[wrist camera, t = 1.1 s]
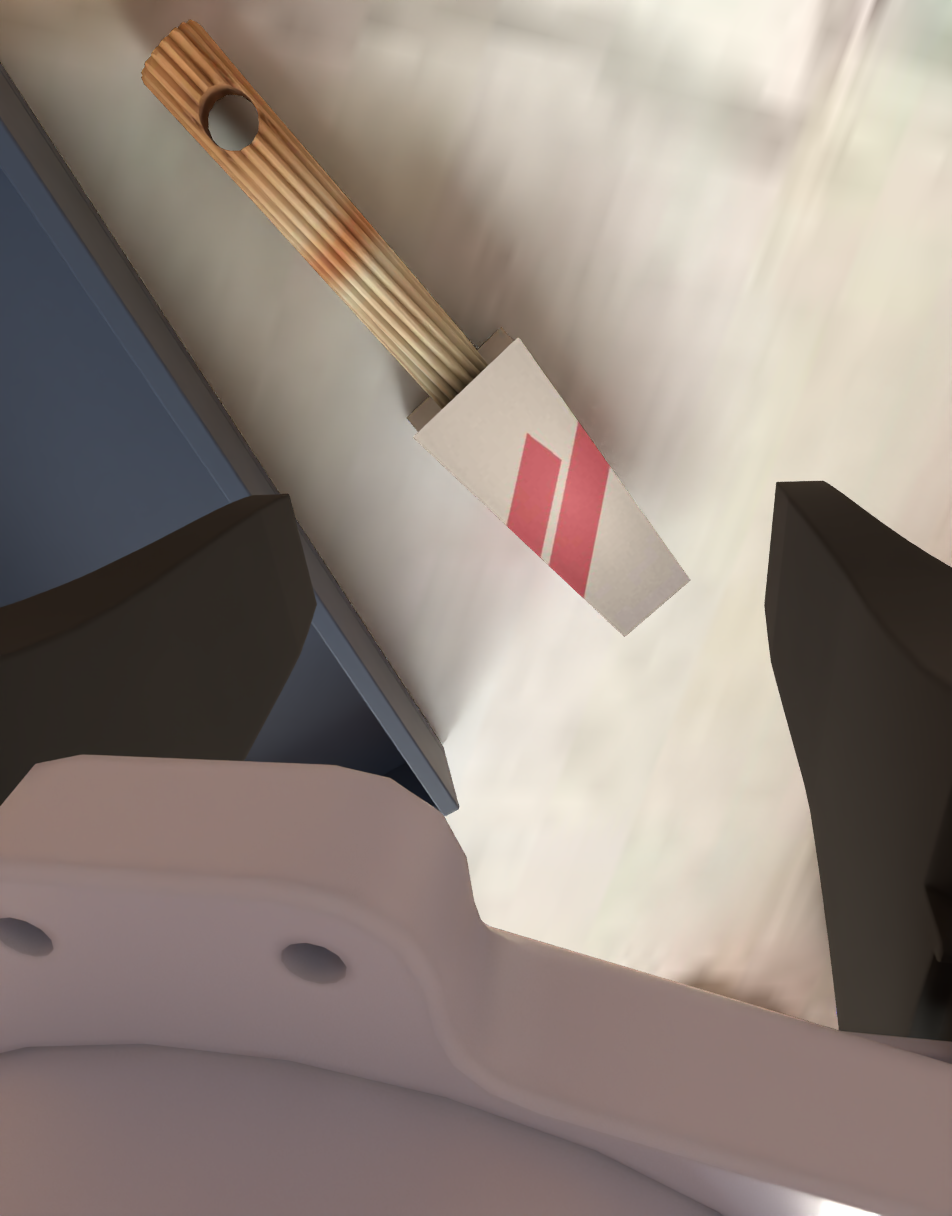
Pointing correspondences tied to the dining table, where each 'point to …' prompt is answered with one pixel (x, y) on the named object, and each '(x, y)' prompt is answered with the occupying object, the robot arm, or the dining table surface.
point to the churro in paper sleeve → (439, 358)
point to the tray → (152, 461)
